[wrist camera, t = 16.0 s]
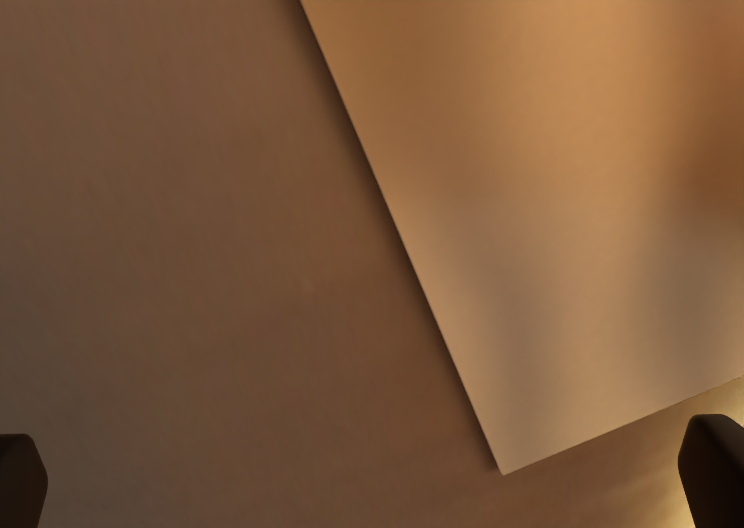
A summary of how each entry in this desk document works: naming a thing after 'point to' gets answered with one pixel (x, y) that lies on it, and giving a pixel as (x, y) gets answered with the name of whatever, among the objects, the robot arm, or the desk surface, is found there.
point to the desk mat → (559, 196)
